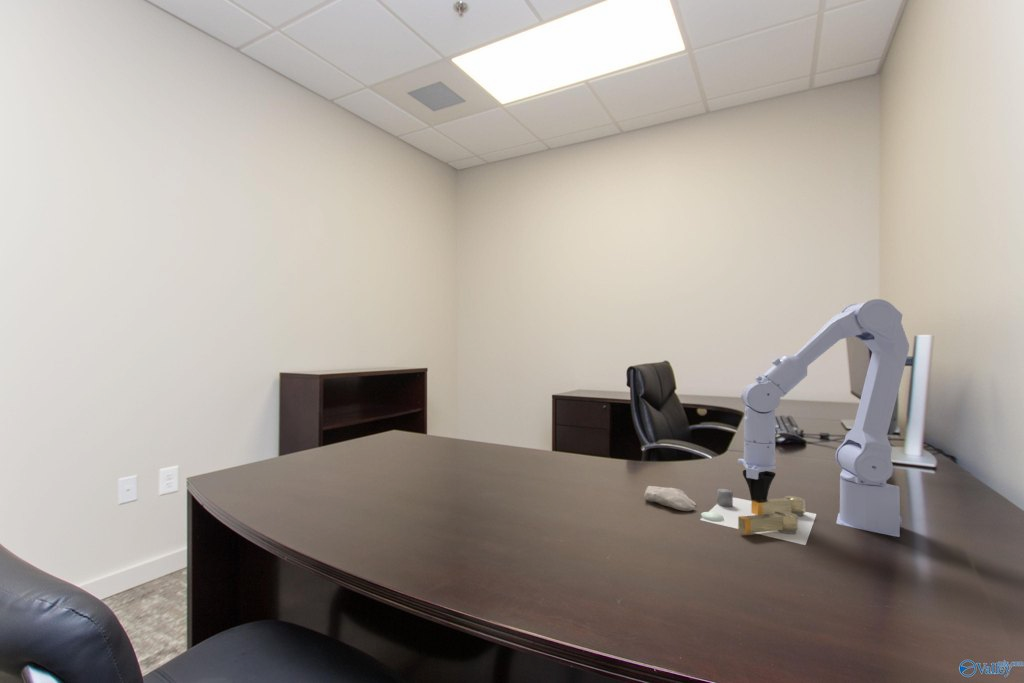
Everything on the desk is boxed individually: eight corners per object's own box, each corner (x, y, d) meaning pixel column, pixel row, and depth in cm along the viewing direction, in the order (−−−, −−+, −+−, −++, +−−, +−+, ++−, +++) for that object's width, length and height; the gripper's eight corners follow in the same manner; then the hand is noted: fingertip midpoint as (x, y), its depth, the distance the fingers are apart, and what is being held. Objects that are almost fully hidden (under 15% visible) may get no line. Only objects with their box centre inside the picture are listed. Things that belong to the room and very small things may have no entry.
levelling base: (816, 516, 94) (816, 499, 94) (805, 547, 79) (805, 527, 79) (723, 497, 106) (723, 482, 106) (697, 521, 90) (697, 503, 90)
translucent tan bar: (785, 523, 87) (785, 510, 87) (802, 530, 84) (802, 516, 84) (734, 528, 84) (734, 514, 84) (749, 536, 80) (749, 521, 80)
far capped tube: (794, 507, 96) (794, 495, 96) (809, 513, 93) (809, 500, 93) (747, 510, 93) (748, 498, 93) (761, 517, 90) (761, 504, 90)
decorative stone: (705, 519, 93) (682, 502, 108) (707, 500, 93) (684, 485, 108) (651, 509, 94) (636, 493, 109) (654, 490, 94) (638, 477, 109)
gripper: (745, 433, 103) (745, 494, 103) (730, 443, 92) (729, 511, 92) (781, 438, 99) (781, 501, 99) (769, 448, 87) (769, 519, 87)
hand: (758, 506), depth 95 cm, fingers closed
